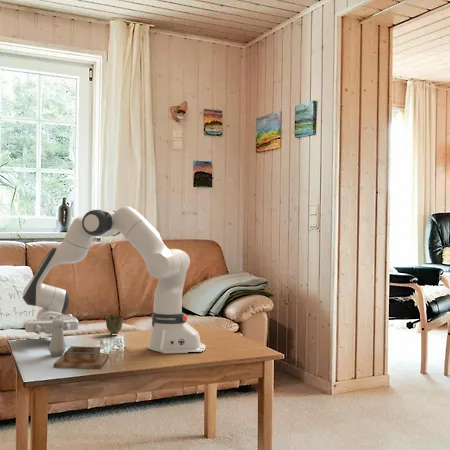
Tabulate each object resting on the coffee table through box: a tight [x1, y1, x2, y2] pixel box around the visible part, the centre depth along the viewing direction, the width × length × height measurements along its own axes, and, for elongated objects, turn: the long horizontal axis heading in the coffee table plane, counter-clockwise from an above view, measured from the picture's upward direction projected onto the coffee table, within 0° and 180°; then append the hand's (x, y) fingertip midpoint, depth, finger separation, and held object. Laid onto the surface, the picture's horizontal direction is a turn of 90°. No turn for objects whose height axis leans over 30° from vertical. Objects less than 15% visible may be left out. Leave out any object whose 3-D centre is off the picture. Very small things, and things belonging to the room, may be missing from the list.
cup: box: [105, 315, 124, 336], centre depth 252 cm, size 8×7×8 cm
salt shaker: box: [48, 319, 66, 357], centre depth 214 cm, size 6×6×13 cm
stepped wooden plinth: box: [53, 345, 110, 370], centre depth 205 cm, size 16×16×4 cm
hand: (54, 329), depth 224 cm, fingers open, 8 cm apart
